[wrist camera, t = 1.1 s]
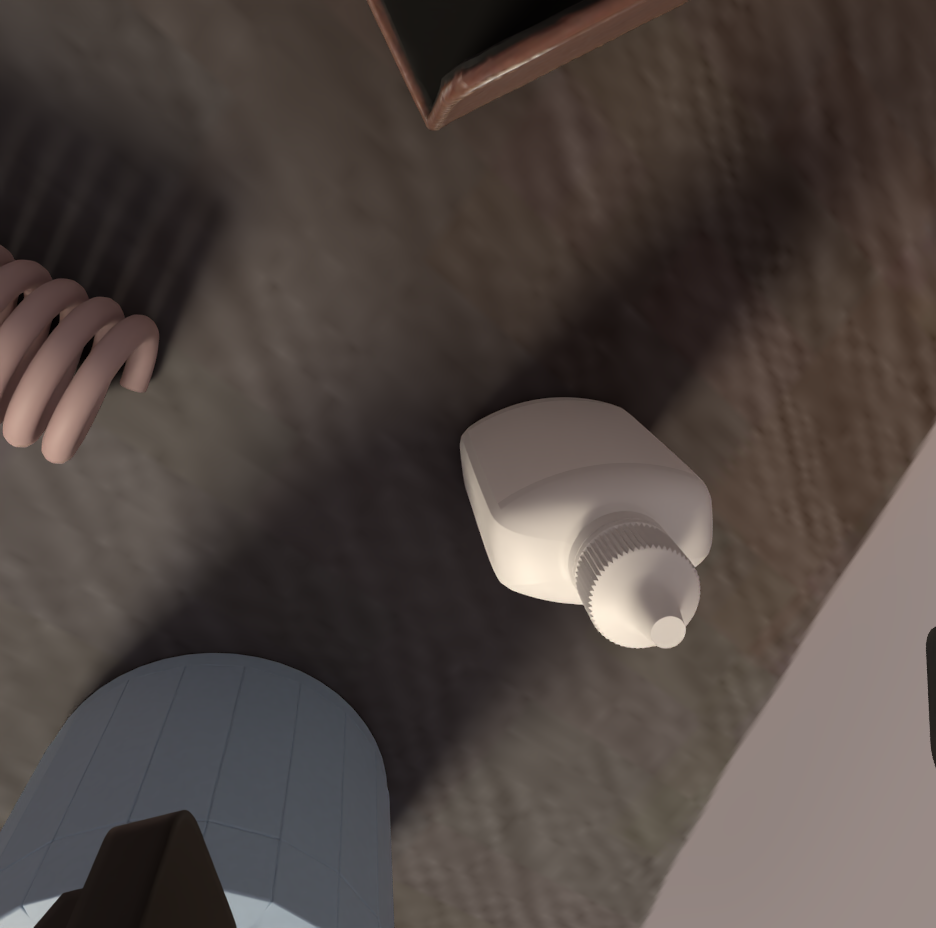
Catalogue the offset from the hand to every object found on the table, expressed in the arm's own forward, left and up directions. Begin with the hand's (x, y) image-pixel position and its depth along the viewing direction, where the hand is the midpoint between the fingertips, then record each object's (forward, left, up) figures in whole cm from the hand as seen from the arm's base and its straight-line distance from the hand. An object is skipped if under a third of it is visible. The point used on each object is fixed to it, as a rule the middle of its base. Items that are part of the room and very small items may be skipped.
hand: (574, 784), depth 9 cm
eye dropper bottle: (+3, +3, -19) cm, 19 cm away
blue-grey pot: (+13, -11, -19) cm, 25 cm away
